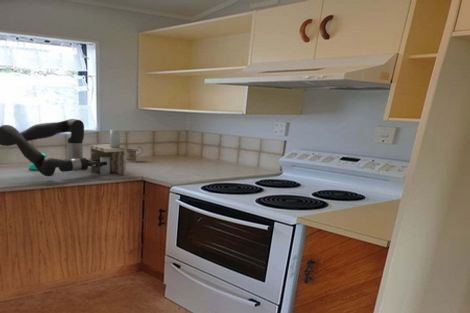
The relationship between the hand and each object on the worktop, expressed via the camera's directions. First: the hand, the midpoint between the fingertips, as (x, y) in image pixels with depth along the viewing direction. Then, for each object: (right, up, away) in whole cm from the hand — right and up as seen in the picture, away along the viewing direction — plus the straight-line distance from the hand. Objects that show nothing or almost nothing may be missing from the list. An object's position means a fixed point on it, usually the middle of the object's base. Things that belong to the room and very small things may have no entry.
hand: (103, 162), depth 213 cm
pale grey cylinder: (+8, +10, -1) cm, 12 cm away
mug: (+3, -1, +52) cm, 52 cm away
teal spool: (-46, -5, +6) cm, 47 cm away
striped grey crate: (+2, -8, +4) cm, 9 cm away
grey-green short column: (0, -8, +2) cm, 8 cm away
